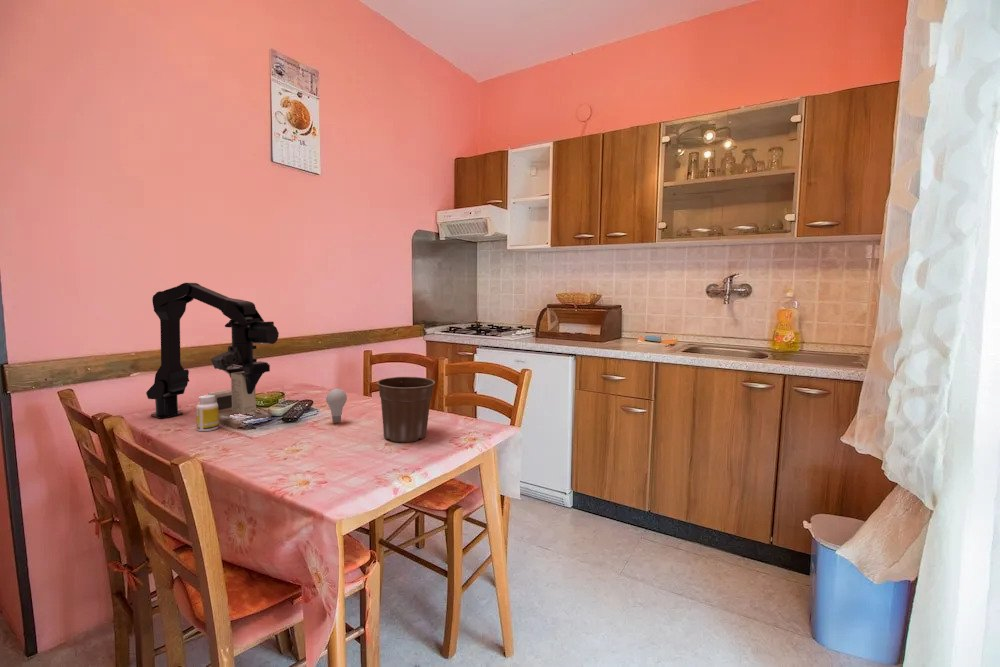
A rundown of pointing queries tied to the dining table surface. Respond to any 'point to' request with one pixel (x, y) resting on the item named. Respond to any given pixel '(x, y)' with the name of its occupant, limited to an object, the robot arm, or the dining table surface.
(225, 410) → the grey open case
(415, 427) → the plant pot
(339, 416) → the lightbulb
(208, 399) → the supplement bottle
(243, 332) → the robot arm
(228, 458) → the dining table surface
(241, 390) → the skincare box
